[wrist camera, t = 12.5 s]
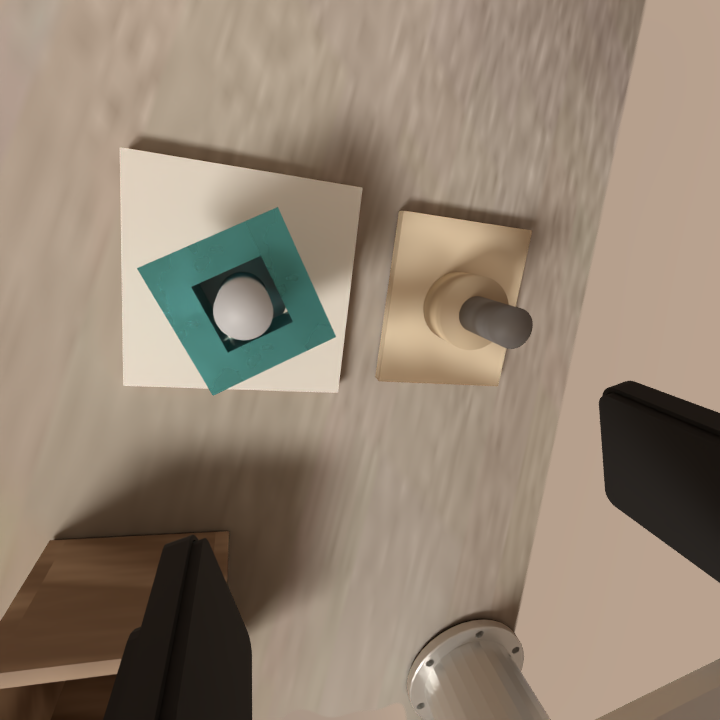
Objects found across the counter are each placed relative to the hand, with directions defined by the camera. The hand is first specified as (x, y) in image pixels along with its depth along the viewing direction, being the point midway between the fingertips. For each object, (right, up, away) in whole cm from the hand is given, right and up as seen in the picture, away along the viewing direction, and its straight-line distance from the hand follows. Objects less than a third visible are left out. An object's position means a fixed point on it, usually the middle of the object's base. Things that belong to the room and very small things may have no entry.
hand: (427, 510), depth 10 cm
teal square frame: (-8, +7, +15) cm, 18 cm away
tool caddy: (-18, -15, +24) cm, 34 cm away
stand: (+5, +8, +23) cm, 25 cm away
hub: (-9, +8, +19) cm, 23 cm away
